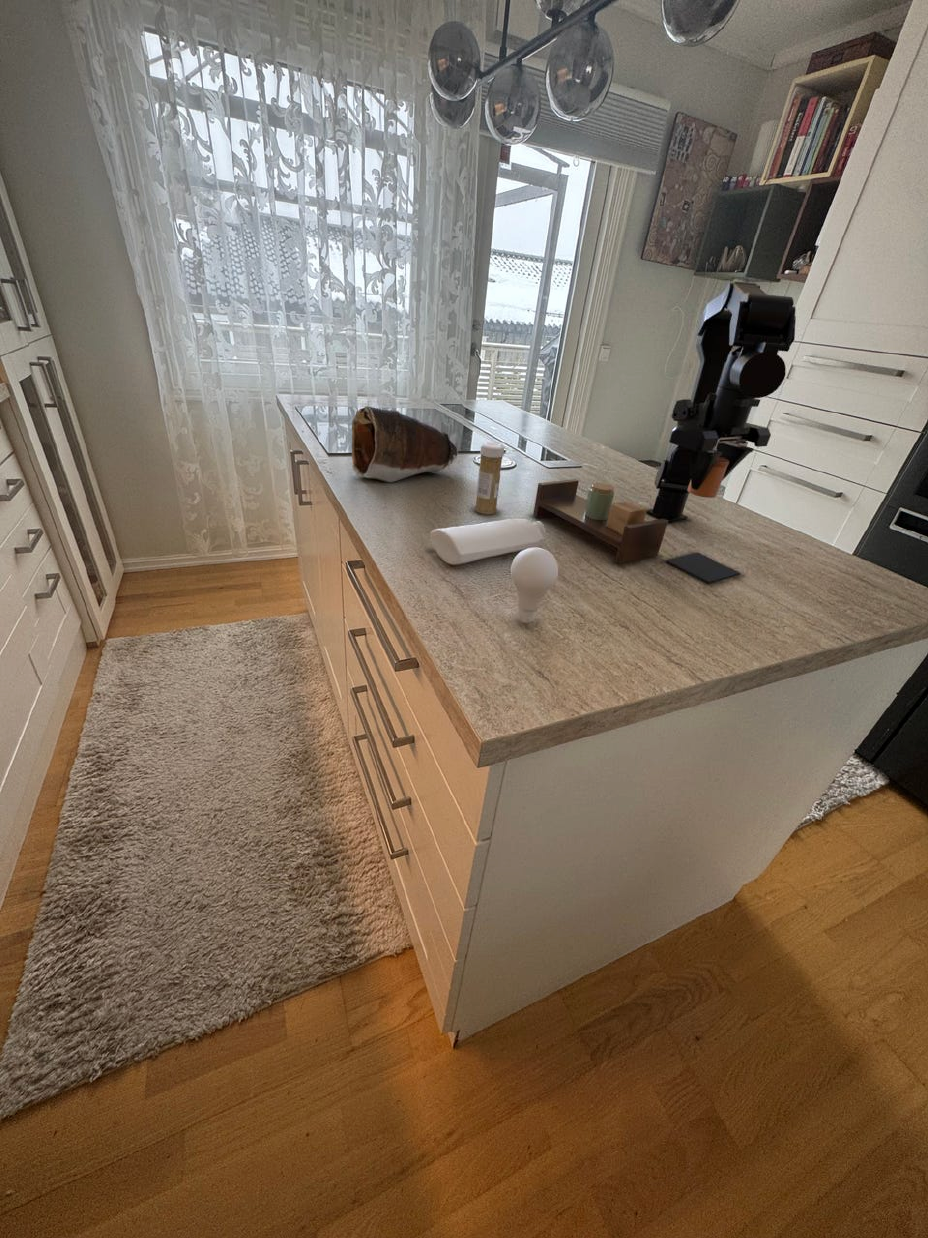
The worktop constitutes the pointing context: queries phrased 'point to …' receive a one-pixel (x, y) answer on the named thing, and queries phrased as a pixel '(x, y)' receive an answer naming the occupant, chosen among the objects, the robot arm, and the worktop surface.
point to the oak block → (625, 515)
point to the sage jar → (599, 501)
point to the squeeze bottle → (486, 539)
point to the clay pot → (397, 446)
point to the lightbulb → (532, 580)
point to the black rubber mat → (703, 568)
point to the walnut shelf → (599, 522)
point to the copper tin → (711, 480)
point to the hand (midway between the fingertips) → (703, 487)
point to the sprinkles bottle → (489, 477)
